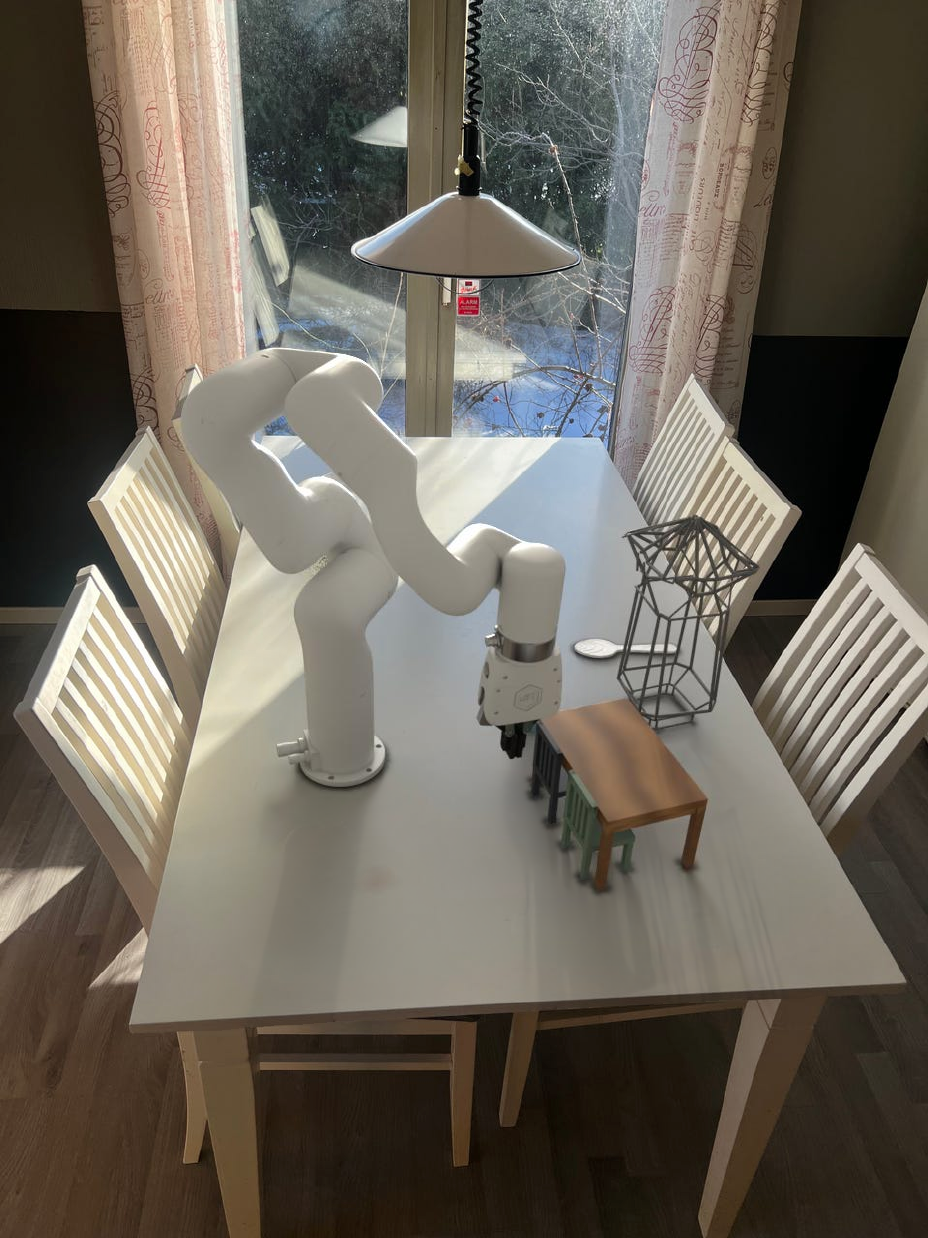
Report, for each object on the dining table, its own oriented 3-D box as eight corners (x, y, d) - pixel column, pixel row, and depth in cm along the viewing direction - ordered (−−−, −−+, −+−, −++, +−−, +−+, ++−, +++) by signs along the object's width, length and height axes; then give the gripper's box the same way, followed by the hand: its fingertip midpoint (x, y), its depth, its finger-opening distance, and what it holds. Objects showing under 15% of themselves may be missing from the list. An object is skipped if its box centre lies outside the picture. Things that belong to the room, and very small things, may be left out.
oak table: (597, 891, 126) (607, 822, 120) (531, 780, 144) (537, 715, 137) (693, 866, 131) (708, 798, 124) (617, 761, 148) (627, 697, 142)
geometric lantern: (683, 679, 166) (719, 489, 148) (728, 737, 154) (773, 537, 135) (596, 691, 163) (622, 497, 144) (634, 752, 150) (668, 548, 131)
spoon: (679, 658, 172) (680, 655, 171) (576, 657, 171) (577, 655, 170) (673, 641, 176) (673, 638, 176) (572, 640, 175) (573, 638, 175)
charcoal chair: (549, 825, 136) (557, 753, 129) (529, 792, 141) (536, 721, 134) (595, 815, 138) (605, 743, 131) (574, 782, 143) (583, 712, 137)
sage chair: (581, 881, 127) (592, 807, 121) (559, 843, 133) (568, 770, 126) (630, 868, 130) (643, 795, 123) (606, 832, 135) (617, 760, 128)
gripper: (479, 665, 118) (468, 780, 128) (592, 648, 122) (573, 760, 132) (458, 630, 124) (450, 743, 134) (567, 616, 128) (551, 726, 138)
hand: (511, 751), depth 133 cm, fingers closed
